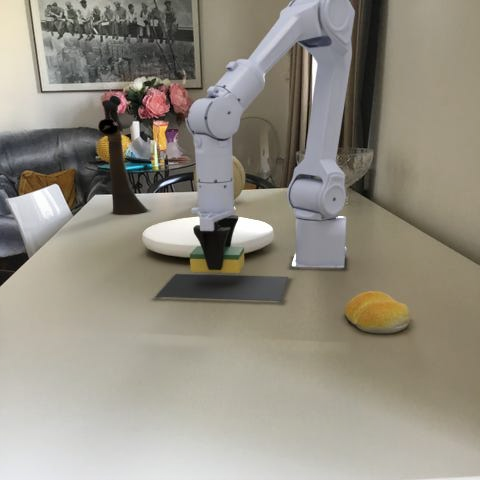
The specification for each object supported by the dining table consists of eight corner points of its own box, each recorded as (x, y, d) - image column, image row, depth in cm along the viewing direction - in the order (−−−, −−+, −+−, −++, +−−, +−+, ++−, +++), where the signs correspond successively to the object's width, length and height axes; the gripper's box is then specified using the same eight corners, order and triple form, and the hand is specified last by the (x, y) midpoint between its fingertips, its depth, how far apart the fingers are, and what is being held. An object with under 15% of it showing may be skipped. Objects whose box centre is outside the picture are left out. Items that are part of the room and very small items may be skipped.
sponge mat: (288, 279, 97) (288, 276, 97) (280, 303, 87) (280, 300, 86) (176, 276, 101) (175, 273, 101) (155, 299, 90) (155, 296, 90)
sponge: (244, 264, 95) (243, 246, 94) (239, 273, 91) (238, 254, 89) (198, 263, 96) (197, 246, 95) (190, 271, 92) (189, 254, 91)
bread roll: (370, 340, 73) (372, 311, 72) (336, 316, 81) (337, 290, 80) (423, 329, 76) (426, 301, 74) (385, 307, 84) (387, 282, 82)
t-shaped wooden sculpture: (120, 202, 171) (108, 95, 160) (152, 200, 171) (142, 94, 160) (104, 224, 142) (88, 96, 131) (142, 223, 142) (129, 95, 131)
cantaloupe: (256, 202, 164) (255, 148, 158) (220, 210, 154) (217, 153, 148) (220, 197, 173) (218, 146, 168) (184, 204, 164) (180, 151, 158)
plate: (167, 211, 131) (282, 213, 126) (168, 239, 133) (281, 243, 127) (119, 226, 104) (261, 229, 99) (121, 261, 106) (261, 266, 101)
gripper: (200, 173, 95) (205, 252, 101) (177, 188, 82) (183, 277, 87) (242, 173, 94) (244, 252, 99) (225, 188, 81) (228, 278, 86)
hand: (218, 264), depth 93 cm, fingers closed on sponge, 5 cm apart
